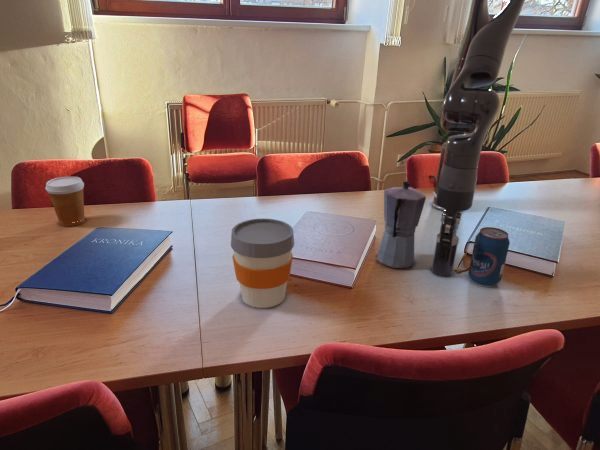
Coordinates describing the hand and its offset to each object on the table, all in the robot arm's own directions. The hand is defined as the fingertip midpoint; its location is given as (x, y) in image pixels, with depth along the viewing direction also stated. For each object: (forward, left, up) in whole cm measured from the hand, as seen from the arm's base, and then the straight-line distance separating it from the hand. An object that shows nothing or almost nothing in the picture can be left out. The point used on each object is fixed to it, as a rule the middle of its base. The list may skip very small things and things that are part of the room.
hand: (444, 255), depth 102 cm
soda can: (0, +9, -5) cm, 10 cm away
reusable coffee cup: (+27, -33, -5) cm, 43 cm away
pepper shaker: (0, 0, -4) cm, 4 cm away
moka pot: (0, -11, -5) cm, 12 cm away
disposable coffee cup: (+17, -99, -5) cm, 100 cm away
